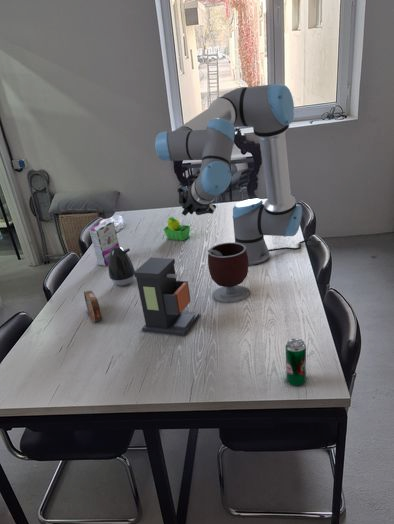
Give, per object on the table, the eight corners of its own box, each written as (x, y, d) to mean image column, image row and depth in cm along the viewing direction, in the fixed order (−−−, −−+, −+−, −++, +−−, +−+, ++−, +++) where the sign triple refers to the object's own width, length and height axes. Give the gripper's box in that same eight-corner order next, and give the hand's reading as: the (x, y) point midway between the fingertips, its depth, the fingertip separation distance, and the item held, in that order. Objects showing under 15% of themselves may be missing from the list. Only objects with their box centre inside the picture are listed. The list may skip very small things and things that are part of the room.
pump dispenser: (132, 288, 189) (124, 251, 180) (107, 288, 191) (99, 252, 183) (140, 277, 197) (133, 241, 189) (116, 277, 199) (108, 242, 191)
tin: (86, 308, 178) (81, 288, 174) (95, 306, 179) (89, 285, 175) (95, 326, 166) (90, 304, 162) (104, 323, 167) (99, 301, 163)
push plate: (190, 302, 159) (187, 282, 155) (180, 313, 153) (177, 294, 149) (186, 301, 159) (183, 282, 155) (176, 313, 153) (173, 293, 149)
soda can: (284, 376, 130) (283, 339, 123) (303, 374, 130) (303, 336, 123) (289, 388, 126) (288, 349, 119) (308, 385, 126) (308, 346, 119)
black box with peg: (199, 315, 164) (191, 258, 152) (183, 335, 154) (174, 276, 143) (159, 312, 169) (149, 256, 158) (142, 331, 160) (130, 273, 148)
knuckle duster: (101, 223, 263) (128, 220, 262) (96, 235, 248) (124, 231, 247) (100, 217, 261) (127, 214, 261) (94, 228, 246) (123, 225, 246)
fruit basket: (192, 236, 230) (189, 212, 224) (182, 242, 224) (178, 219, 218) (173, 234, 235) (169, 211, 229) (162, 240, 229) (158, 217, 223)
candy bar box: (113, 255, 221) (105, 220, 212) (122, 256, 218) (114, 221, 210) (97, 265, 213) (88, 229, 204) (105, 266, 211) (97, 230, 202)
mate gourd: (229, 282, 182) (225, 231, 171) (258, 291, 173) (255, 238, 163) (200, 299, 174) (193, 246, 163) (229, 309, 165) (223, 254, 154)
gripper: (177, 189, 136) (163, 209, 159) (216, 215, 139) (196, 231, 162) (190, 167, 137) (174, 190, 160) (228, 193, 140) (207, 212, 163)
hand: (185, 211), depth 161 cm, fingers closed
